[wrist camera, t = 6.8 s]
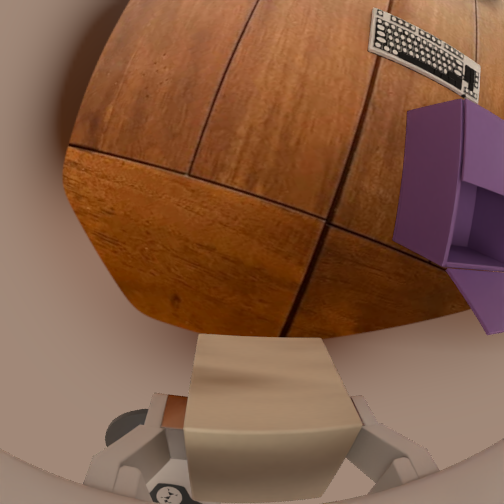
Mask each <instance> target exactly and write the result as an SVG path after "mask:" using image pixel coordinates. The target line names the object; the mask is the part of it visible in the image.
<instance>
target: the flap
mask: <svg viewBox="0 0 504 504" xmlns="http://www.w3.org/2000/svg"><path fill="white" fill-rule="evenodd" d="M446 272H447V273H448V275H449V276H450V278H451V279H452V280H453V282H454V283H455V285H456V286H457V288H458V289H459V291H460V292H461V294H462V295H463V297H464V298H465V300H466V301H467V303H468V304H469V306H470V308H471V309H472V311H473V312H474V314H475V315H476V317H477V319H478V320H479V322H480V324H481V326H482V327H483V329H484V331H485V332H486V334H487V335H491V334H496V333H502V332H504V273H500V272H488V271H475V270H463V269H450V268H447V270H446Z"/></svg>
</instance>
